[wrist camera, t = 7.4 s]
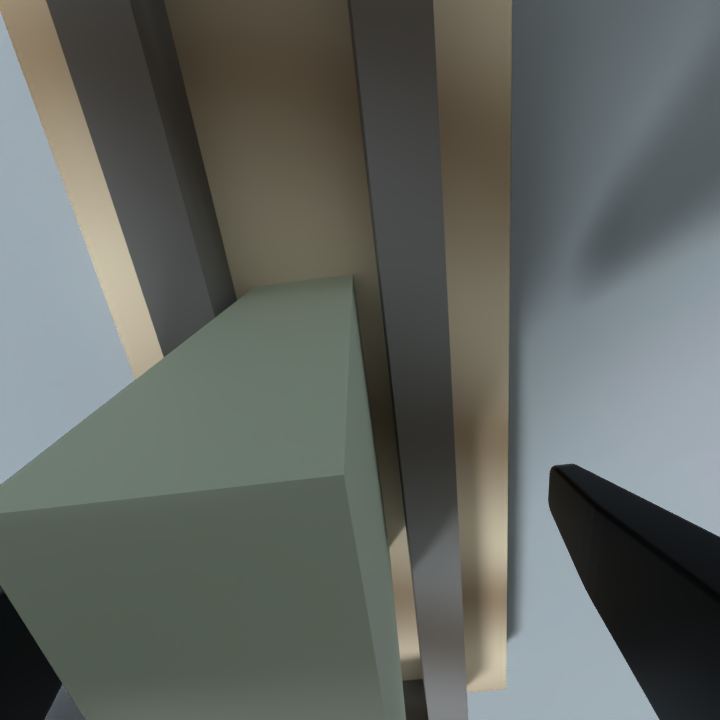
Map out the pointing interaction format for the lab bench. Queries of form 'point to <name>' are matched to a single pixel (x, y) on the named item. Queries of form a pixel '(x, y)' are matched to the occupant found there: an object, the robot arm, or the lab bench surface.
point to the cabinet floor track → (320, 239)
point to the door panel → (218, 529)
